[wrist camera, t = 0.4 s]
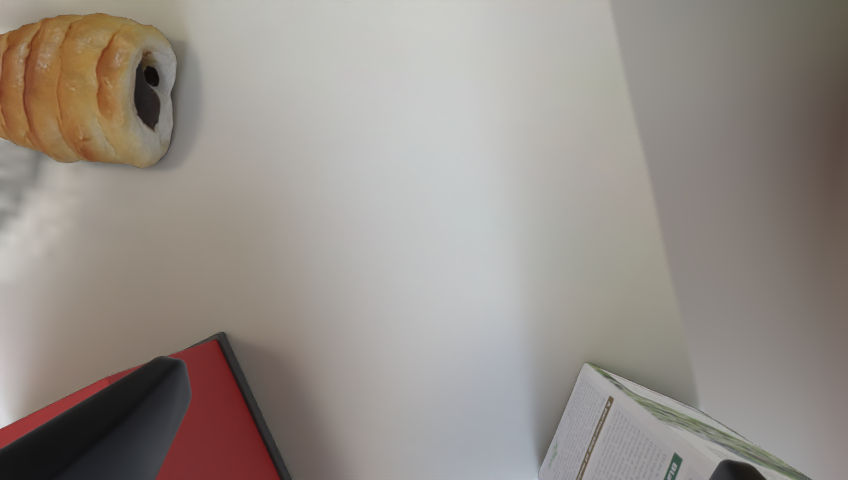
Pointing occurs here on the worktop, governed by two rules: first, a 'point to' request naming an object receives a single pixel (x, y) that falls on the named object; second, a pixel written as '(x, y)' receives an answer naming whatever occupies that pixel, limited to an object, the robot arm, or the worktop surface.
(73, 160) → the pastry
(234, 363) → the toaster
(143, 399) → the robot arm
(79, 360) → the worktop surface
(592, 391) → the syrup box
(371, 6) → the worktop surface
